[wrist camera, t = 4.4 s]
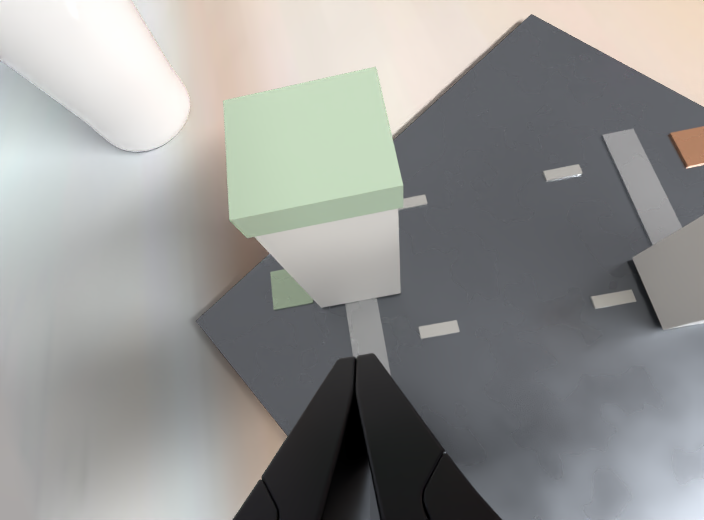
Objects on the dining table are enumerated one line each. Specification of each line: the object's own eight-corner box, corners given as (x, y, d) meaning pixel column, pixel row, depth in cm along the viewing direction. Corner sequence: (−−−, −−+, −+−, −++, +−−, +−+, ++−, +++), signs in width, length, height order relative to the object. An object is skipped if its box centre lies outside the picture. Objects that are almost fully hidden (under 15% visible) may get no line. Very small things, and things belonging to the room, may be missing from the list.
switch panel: (1089, 330, 14) (1118, 327, 13) (702, 948, 10) (719, 979, 10) (523, 19, 22) (526, 9, 21) (197, 317, 18) (190, 315, 18)
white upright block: (403, 295, 17) (403, 184, 8) (319, 310, 17) (228, 220, 8) (389, 227, 18) (376, 66, 9) (310, 243, 18) (223, 100, 9)
